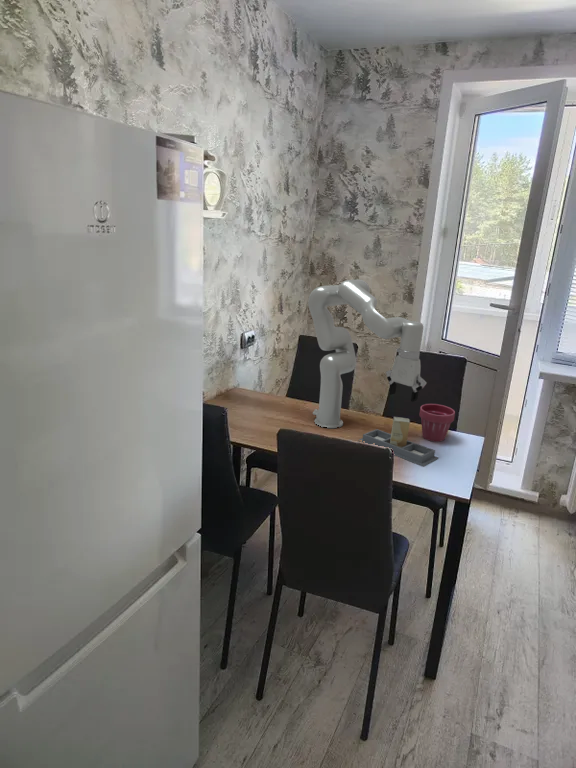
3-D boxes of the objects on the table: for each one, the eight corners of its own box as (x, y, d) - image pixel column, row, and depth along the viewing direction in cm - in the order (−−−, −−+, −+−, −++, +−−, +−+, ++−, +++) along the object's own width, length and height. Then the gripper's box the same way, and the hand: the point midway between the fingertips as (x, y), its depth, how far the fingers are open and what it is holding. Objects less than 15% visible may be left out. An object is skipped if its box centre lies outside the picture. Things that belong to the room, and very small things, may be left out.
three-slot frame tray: (358, 440, 211) (359, 433, 210) (374, 434, 219) (375, 427, 218) (423, 466, 191) (424, 458, 190) (438, 458, 199) (439, 451, 198)
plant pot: (445, 447, 210) (450, 417, 207) (411, 438, 217) (415, 409, 213) (454, 436, 222) (459, 408, 218) (422, 428, 229) (426, 401, 225)
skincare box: (389, 449, 203) (393, 420, 200) (389, 445, 207) (392, 416, 204) (406, 451, 202) (410, 421, 199) (405, 446, 206) (409, 418, 203)
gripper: (384, 350, 197) (378, 393, 202) (424, 361, 186) (417, 405, 191) (395, 348, 202) (389, 389, 207) (434, 358, 191) (427, 402, 196)
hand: (402, 397), depth 199 cm, fingers open, 9 cm apart
